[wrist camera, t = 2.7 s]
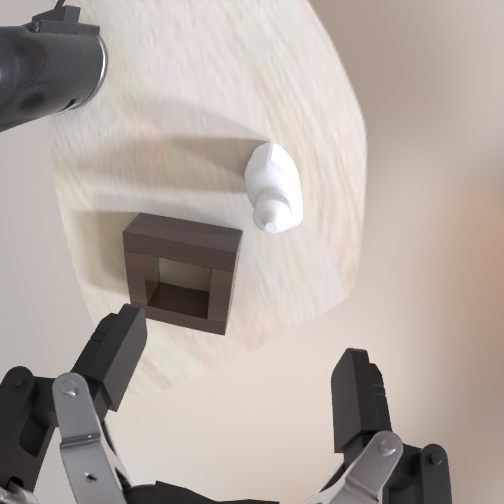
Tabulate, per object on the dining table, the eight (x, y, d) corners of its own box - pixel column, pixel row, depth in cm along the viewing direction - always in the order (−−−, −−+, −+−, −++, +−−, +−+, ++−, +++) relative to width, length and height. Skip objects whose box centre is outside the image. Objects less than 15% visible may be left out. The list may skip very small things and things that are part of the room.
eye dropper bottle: (300, 141, 26) (311, 183, 16) (299, 197, 29) (305, 268, 19) (253, 140, 26) (231, 181, 16) (254, 195, 29) (236, 266, 19)
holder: (140, 212, 31) (122, 231, 28) (243, 230, 31) (236, 253, 28) (145, 291, 38) (132, 314, 34) (230, 309, 38) (224, 335, 34)
